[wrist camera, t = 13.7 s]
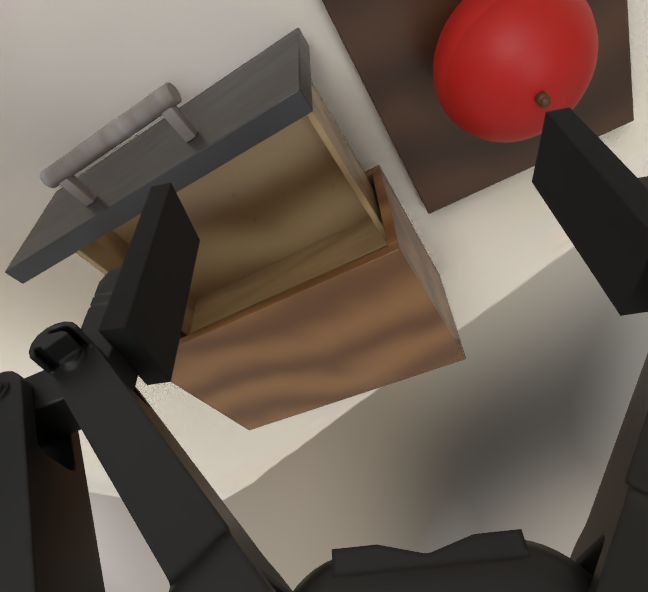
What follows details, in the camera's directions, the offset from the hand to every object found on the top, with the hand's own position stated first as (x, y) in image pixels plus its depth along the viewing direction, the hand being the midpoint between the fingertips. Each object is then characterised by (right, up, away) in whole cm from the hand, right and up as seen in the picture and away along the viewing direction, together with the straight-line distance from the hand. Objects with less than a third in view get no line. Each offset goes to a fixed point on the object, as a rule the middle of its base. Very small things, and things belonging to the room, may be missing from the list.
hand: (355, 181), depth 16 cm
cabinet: (-3, -2, +32) cm, 32 cm away
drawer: (-10, +5, +22) cm, 25 cm away
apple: (+10, +13, +14) cm, 21 cm away
